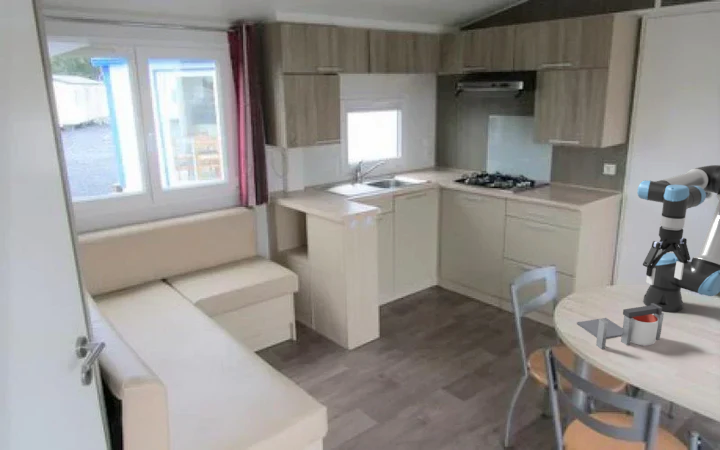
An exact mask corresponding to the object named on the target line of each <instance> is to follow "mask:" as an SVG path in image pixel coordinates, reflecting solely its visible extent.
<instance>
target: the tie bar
mask: <svg viewBox="0 0 720 450" xmlns="http://www.w3.org/2000/svg"><path fill="white" fill-rule="evenodd" d="M662 313H663V311H662V307H660V306H658V305H656V304H654V303H651V305H650V306H647V305H645V306H637V307H630V308H624V309H623V311H622V315H623V316H624V315H625V316H627V317H628V318H630V317H636V316H643V315H649V314H653V315H654V314H658V315H661V314H662Z"/></svg>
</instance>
